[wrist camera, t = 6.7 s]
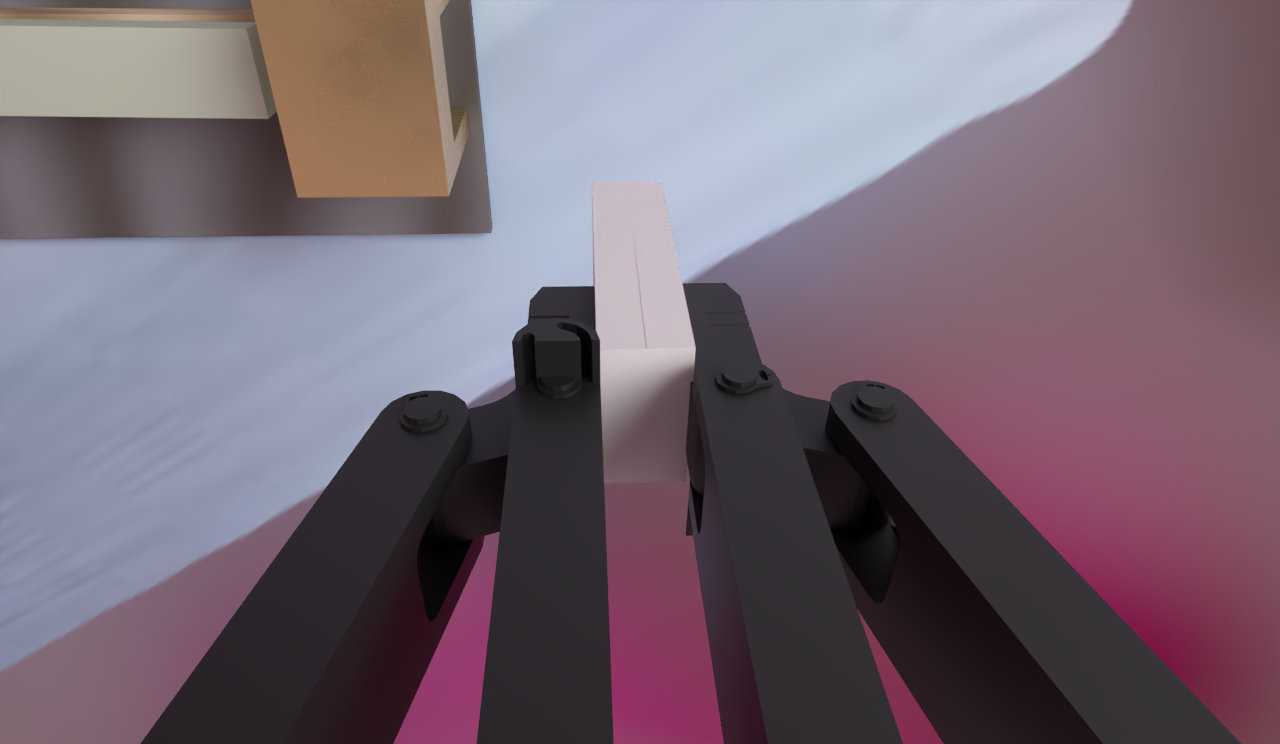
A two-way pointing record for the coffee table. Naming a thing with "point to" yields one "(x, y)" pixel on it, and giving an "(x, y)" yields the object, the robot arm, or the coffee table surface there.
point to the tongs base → (210, 157)
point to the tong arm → (133, 69)
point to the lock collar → (362, 96)
